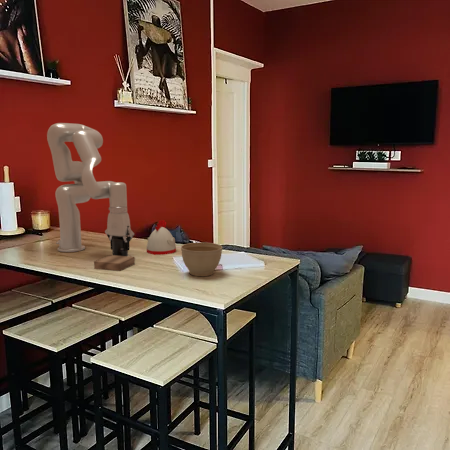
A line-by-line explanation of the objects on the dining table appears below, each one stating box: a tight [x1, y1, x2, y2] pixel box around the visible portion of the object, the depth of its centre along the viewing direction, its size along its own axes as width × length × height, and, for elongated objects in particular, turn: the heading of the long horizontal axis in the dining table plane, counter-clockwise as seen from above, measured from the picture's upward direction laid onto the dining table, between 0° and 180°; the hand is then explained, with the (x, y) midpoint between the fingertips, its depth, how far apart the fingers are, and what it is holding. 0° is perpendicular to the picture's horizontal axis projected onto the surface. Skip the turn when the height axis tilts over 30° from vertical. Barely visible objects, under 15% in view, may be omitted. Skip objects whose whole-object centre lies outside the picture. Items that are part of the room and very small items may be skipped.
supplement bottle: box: [111, 236, 129, 256], centre depth 207 cm, size 7×7×12 cm
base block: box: [93, 254, 136, 272], centre depth 193 cm, size 12×12×3 cm
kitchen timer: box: [146, 219, 177, 256], centre depth 220 cm, size 14×14×15 cm
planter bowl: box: [180, 242, 223, 277], centre depth 181 cm, size 16×16×11 cm
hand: (120, 249), depth 208 cm, fingers closed on supplement bottle, 6 cm apart
